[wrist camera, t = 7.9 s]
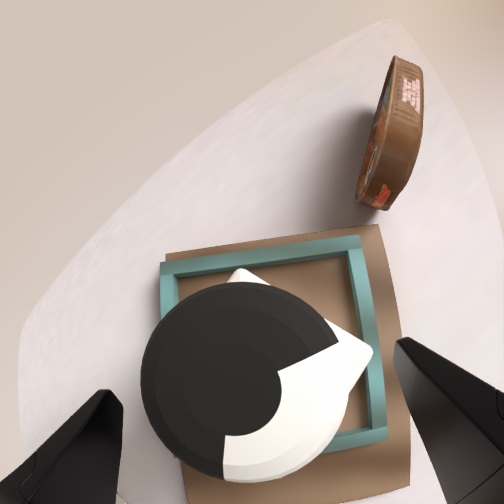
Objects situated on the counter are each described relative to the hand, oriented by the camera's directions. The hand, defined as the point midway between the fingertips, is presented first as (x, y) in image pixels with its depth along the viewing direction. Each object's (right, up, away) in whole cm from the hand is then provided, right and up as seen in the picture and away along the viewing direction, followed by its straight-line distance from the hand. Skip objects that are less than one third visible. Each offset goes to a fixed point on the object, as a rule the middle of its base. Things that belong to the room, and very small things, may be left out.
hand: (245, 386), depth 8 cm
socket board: (+3, -5, +11) cm, 12 cm away
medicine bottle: (+2, -4, +10) cm, 11 cm away
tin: (+12, +12, +16) cm, 23 cm away
